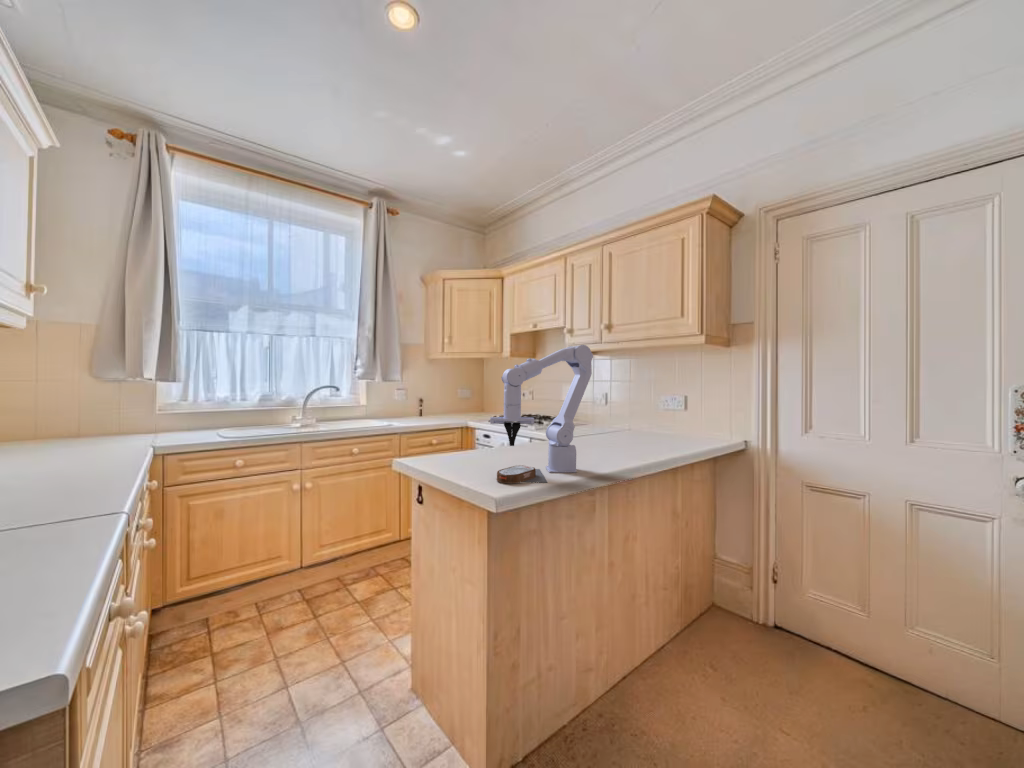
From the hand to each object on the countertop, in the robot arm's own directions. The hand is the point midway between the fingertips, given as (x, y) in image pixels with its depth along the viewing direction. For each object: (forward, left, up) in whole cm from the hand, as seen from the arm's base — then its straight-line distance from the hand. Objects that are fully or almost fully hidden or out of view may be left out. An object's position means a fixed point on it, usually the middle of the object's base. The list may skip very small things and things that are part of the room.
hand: (511, 445), depth 137 cm
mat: (-5, +3, -9) cm, 11 cm away
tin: (+2, +4, -7) cm, 9 cm away
